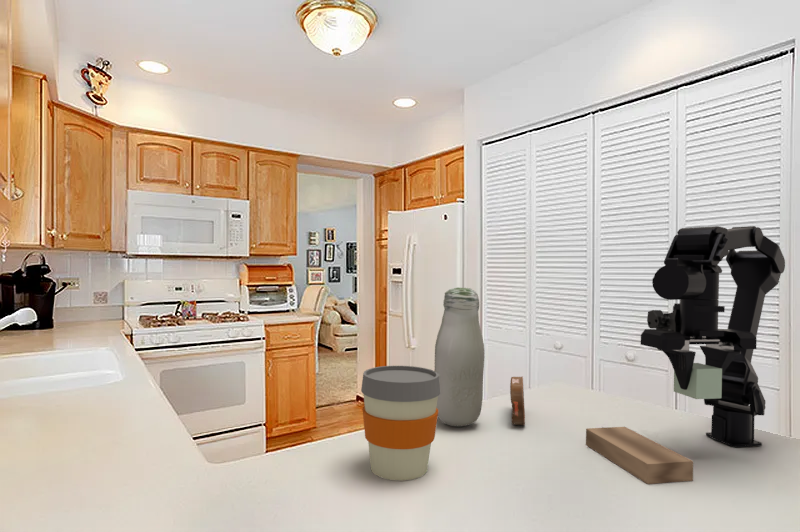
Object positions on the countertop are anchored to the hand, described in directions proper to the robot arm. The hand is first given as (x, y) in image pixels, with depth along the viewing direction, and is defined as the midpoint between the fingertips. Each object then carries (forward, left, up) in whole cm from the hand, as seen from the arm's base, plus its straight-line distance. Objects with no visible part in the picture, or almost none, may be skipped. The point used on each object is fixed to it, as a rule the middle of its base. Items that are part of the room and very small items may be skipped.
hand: (696, 388), depth 83 cm
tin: (+22, -24, -12) cm, 35 cm away
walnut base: (+12, 0, -12) cm, 17 cm away
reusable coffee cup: (+52, -3, -12) cm, 54 cm away
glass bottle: (+36, -22, -12) cm, 44 cm away
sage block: (0, 0, -1) cm, 1 cm away
